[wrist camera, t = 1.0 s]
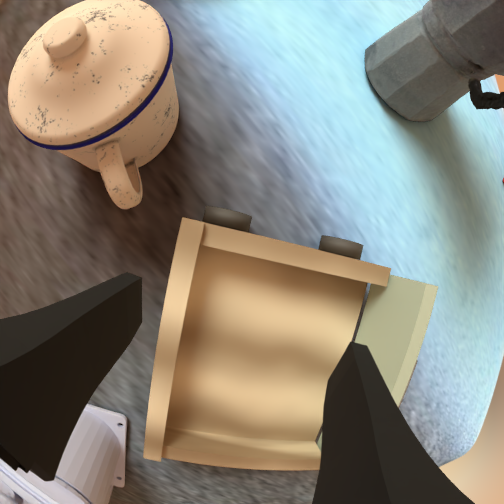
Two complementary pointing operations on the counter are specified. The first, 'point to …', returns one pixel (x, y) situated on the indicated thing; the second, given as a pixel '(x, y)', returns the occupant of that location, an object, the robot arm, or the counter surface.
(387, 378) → the panel
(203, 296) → the cart bed
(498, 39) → the moka pot
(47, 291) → the counter surface
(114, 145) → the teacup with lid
